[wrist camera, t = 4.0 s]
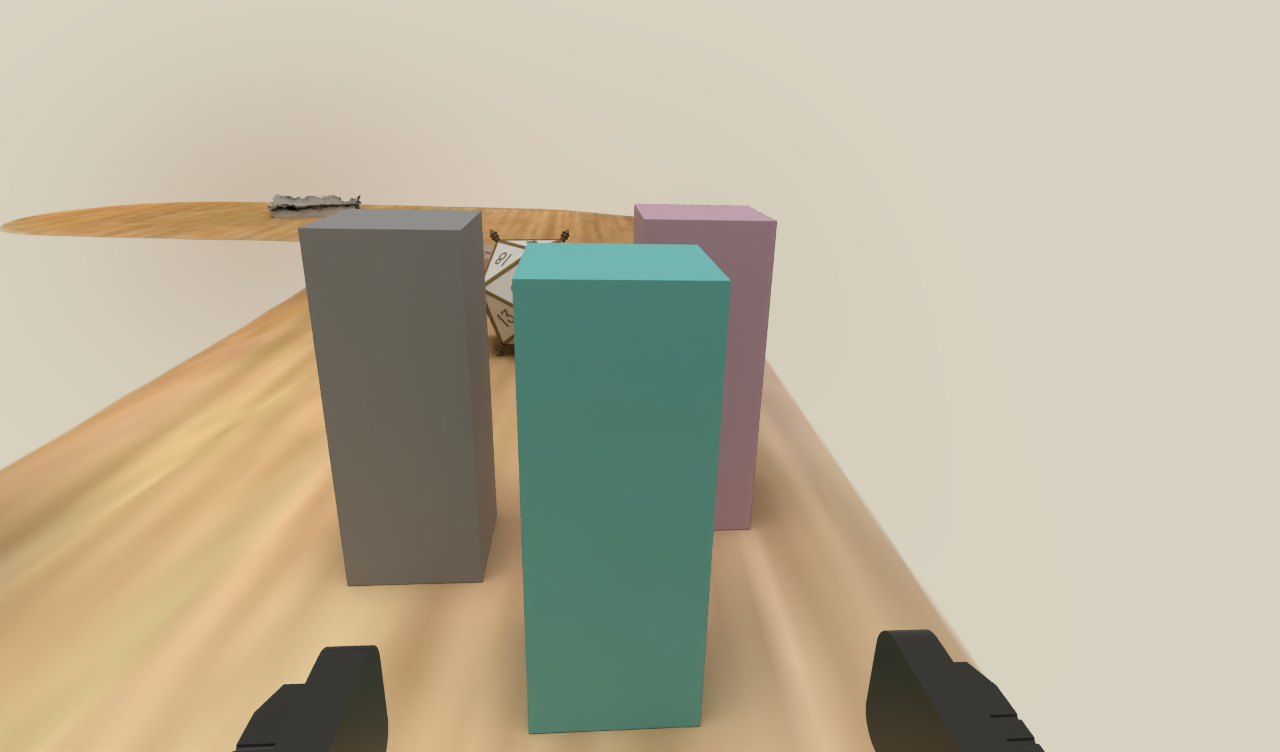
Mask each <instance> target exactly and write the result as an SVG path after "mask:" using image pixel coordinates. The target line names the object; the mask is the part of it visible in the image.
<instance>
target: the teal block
mask: <svg viewBox="0 0 1280 752" xmlns="http://www.w3.org/2000/svg"><path fill="white" fill-rule="evenodd" d="M730 287H731V280H730V279H729V278H728V277H727V276H726V275H725V274H724V273H723V272H722V271H721V270H720V268H719V267H718V266H717V265H716V264H715V263H714V262H713V261H712V260H711V259H710V258H709V257H708V255H707V254H706V253H705V252H704V251H703V250H702V249H701V248H700V247H699V246H698V245H685V244H603V243H527V245H526V248H525V250H524V252H523V255H522V257H521V259H520V262H519V264H518V266H517V269H516V271H515V273H514V276H513V278H512V293H513V320H514V347H515V374H516V401H517V428H518V455H519V482H520V509H521V536H522V563H523V590H524V617H525V644H526V671H527V698H528V725H529V734H534V733H557V732H579V731H602V730H624V729H647V728H669V727H692V726H700V717H701V702H702V688H703V674H704V659H705V645H706V631H707V617H708V602H709V588H710V574H711V559H712V545H713V531H714V516H715V502H716V488H717V473H718V459H719V445H720V431H721V416H722V402H723V388H724V373H725V359H726V345H727V330H728V316H729V302H730Z"/></svg>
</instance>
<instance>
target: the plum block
mask: <svg viewBox="0 0 1280 752" xmlns="http://www.w3.org/2000/svg"><path fill="white" fill-rule="evenodd" d="M634 209H635V210H634V244H685V245H698V246H699V247H700V248H701V249H702V250H703V251H704V252H705V253H706V254H707V255H708V257H709V258H710V259H711V260H712V261H713V262H714V263H715V264H716V265H717V266H718V267H719V268H720V270H721V271H722V272H723V273H724V274H725V275H726V276H727V277H728V278H729V279H730V280H731V287H730V302H729V316H728V330H727V345H726V359H725V373H724V388H723V402H722V416H721V431H720V445H719V459H718V473H717V488H716V502H715V516H714V530H739V529H750V521H751V509H752V498H753V487H754V476H755V464H756V453H757V442H758V431H759V419H760V408H761V397H762V386H763V374H764V363H765V350H766V340H767V329H768V317H769V307H770V295H771V284H772V271H773V262H774V250H775V239H776V227H777V221H776V220H774V219H772V218H770V217H768V216H766V215H764V214H762V213H761V212H758V211H757V210H755V209H753V208H751V207H749V206H732V205H731V206H730V205H729V206H727V205H668V204H667V205H666V204H635V206H634Z"/></svg>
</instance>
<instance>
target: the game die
mask: <svg viewBox="0 0 1280 752" xmlns="http://www.w3.org/2000/svg"><path fill="white" fill-rule="evenodd" d="M562 233H563V234H561V239H513V240H500V239H499V235H497V232H495V231H493V230H490V237H491V238H492V240H494V241H495V242H496V244H495V246H494V249H493V251H492V254H491V256H490V259H489V262H488V264H487V267H486V269H485V272H484V273H485V292H486V312H487V315H488V317H489V319H490V321H491V323H492V325H493V327H494V329H495V332H496V334H497V336H498V338H499V340H500V342H501V343H500V345H497V346H498V347H497V348H495V349H496V356H497V355H499V354H501V353H503V352H502V351H503V350H504V346H505V345H514V320H513V293H512V278H513V276H514V273H515V271H516V269H517V266H518V264H519V262H520V259H521V257H522V255H523V252H524V250H525V248H526V245H527V243H565V240H566V239H568V236H569V229H568V230H566V231H564V232H562Z"/></svg>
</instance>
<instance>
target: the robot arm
mask: <svg viewBox="0 0 1280 752" xmlns="http://www.w3.org/2000/svg"><path fill="white" fill-rule="evenodd" d="M866 719H867V726H868V731H869V735H870V739H871V742H872V744H873V747H874V749H875V751H876V752H1044V750H1043V749H1042V747H1041V746H1040V745H1039V744H1036V743H1035V741H1034V737H1033V735H1032V734H1031V732H1030V731H1029V730H1028V728H1027V727H1026V725H1025V724H1024V723H1023V721H1022V720H1018V718H1017V713H1016V712H1015V710H1014V709H1013V708H1012V706H1011V705H1010V703H1009V702H1008V701H1007V699H1006V698H1005V697H1004V695H1003V694H1002V692H1001V691H1000V690H999V688H998V687H997V686H996V685H995V684H994V683H993V682H991V681H990V680H989V679H988V678H986V677H985V676H984V675H982V674H981V673H980V672H979V671H977V670H976V669H975V668H974V667H972V666H971V665H970V664H969V663H967V662H953V661H952V659H951V658H950V656H949V655H948V653H947V652H946V650H945V649H944V647H943V646H942V644H941V643H940V641H939V640H938V638H937V637H936V636H935V635H934V633H932V632H931V631H930V630H926V629H924V630H893V631H882V632H881V633H880V634H879V636H878V639H877V643H876V649H875V655H874V661H873V667H872V672H871V678H870V684H869V690H868V695H867V701H866ZM387 741H388V717H387V709H386V701H385V693H384V685H383V677H382V669H381V661H380V654H379V650H378V648H377V647H376V646H375V645H370V646H339V647H325V648H324V649H323V650H322V651H321V653H320V654H319V656H318V658H317V660H316V662H315V664H314V666H313V669H312V671H311V673H310V675H309V677H308V679H307V681H306V683H305V684H284V685H283V686H282V687H281V688H280V689H279V690H278V691H276V692H275V693H274V694H273V695H272V696H271V697H270V698H269V699H268V700H267V701H266V702H265V703H264V704H263V705H262V706H261V707H260V708H259V709H257V710H256V711H255V712H254V714H253V716H252V718H251V719H250V721H249V723H248V725H247V727H246V728H245V730H244V732H243V734H242V736H241V738H240V739H239V741H238V743H237V747H236V751H233V752H386V749H387Z"/></svg>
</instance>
